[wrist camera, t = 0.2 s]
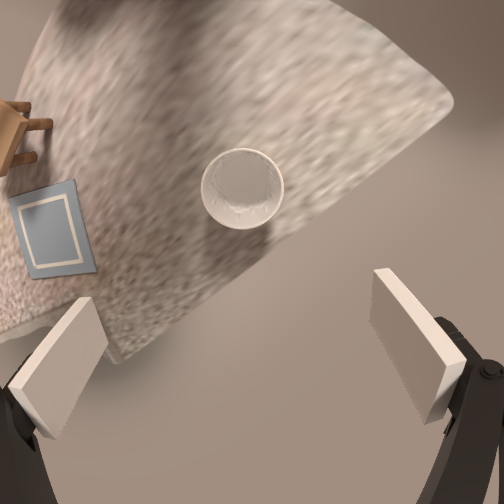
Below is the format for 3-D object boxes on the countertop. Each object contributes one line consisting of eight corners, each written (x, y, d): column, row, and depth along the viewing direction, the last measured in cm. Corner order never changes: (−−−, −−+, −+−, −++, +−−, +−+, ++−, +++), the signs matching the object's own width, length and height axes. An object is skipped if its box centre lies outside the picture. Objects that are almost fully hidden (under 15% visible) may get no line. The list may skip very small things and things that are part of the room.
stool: (5, 142, 36) (-32, 148, 27) (26, 97, 33) (-11, 95, 25) (35, 167, 37) (-2, 178, 29) (57, 120, 35) (20, 121, 27)
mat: (9, 198, 39) (8, 198, 38) (74, 178, 38) (72, 179, 38) (32, 278, 44) (31, 279, 43) (97, 270, 43) (95, 272, 43)
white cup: (242, 219, 41) (240, 245, 32) (199, 175, 39) (183, 189, 29) (288, 177, 39) (300, 192, 30) (245, 131, 37) (243, 130, 28)
